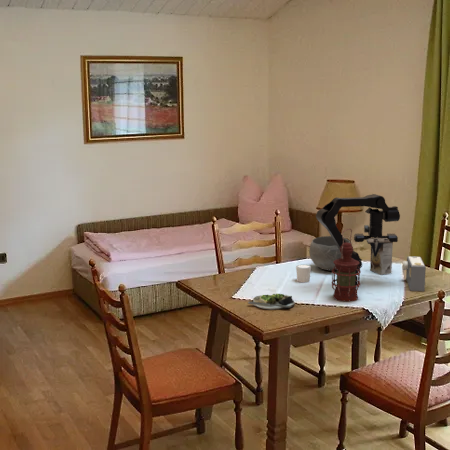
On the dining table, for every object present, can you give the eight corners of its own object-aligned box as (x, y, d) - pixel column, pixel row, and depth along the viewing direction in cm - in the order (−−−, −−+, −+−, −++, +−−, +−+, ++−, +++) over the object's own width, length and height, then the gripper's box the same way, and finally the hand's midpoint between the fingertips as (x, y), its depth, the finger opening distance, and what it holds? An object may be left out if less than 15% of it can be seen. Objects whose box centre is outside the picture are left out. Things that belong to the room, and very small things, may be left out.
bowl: (302, 265, 322) (303, 237, 319) (339, 262, 328) (339, 233, 325) (320, 276, 303) (321, 245, 300) (358, 272, 309) (359, 242, 306)
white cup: (293, 281, 295) (293, 267, 293) (299, 278, 301) (299, 263, 299) (307, 283, 292) (307, 268, 290) (312, 279, 297) (313, 265, 296)
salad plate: (250, 313, 254) (250, 302, 253) (244, 299, 272) (244, 289, 271) (297, 310, 256) (298, 300, 255) (289, 297, 273) (289, 287, 272)
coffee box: (369, 270, 311) (370, 238, 308) (380, 269, 314) (381, 237, 311) (381, 275, 303) (382, 242, 300) (392, 273, 306) (393, 241, 302)
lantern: (350, 304, 262) (352, 233, 256) (325, 298, 270) (326, 229, 264) (365, 297, 271) (367, 228, 265) (340, 291, 279) (341, 225, 273)
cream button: (403, 270, 290) (403, 262, 289) (402, 268, 294) (402, 260, 293) (409, 270, 289) (410, 262, 289) (409, 268, 293) (409, 260, 293)
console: (410, 290, 278) (411, 265, 276) (406, 279, 296) (407, 255, 293) (424, 291, 277) (425, 265, 275) (419, 279, 294) (420, 255, 292)
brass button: (410, 278, 278) (410, 269, 277) (409, 275, 282) (409, 266, 281) (417, 278, 278) (417, 269, 277) (416, 275, 281) (416, 267, 281)
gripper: (394, 219, 291) (392, 252, 294) (353, 219, 292) (352, 251, 296) (398, 223, 280) (397, 258, 283) (355, 223, 282) (354, 257, 285)
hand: (375, 256), depth 287 cm, fingers closed
